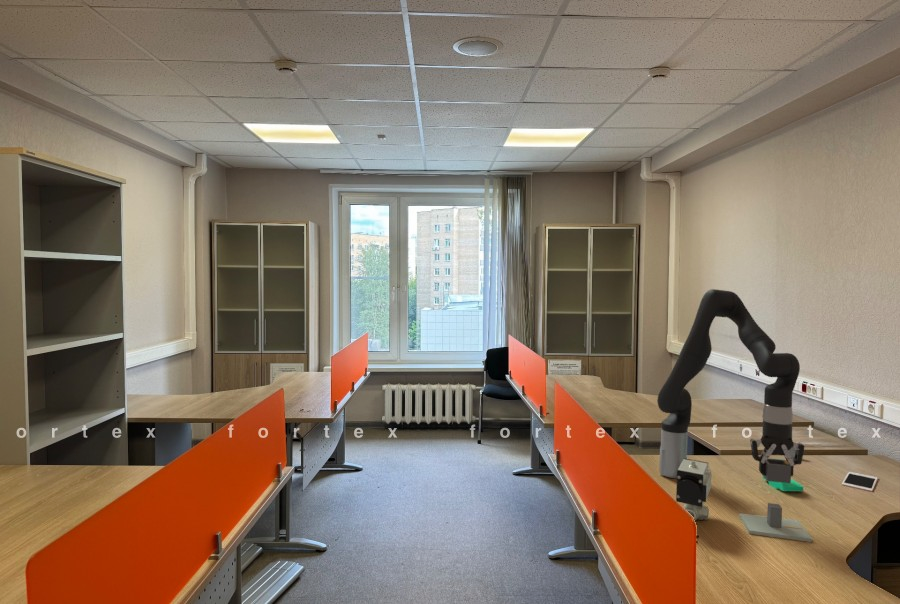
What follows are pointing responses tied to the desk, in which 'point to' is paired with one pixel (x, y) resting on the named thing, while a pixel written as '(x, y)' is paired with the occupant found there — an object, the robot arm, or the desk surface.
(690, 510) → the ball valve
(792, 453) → the lighter
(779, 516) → the grey base with post
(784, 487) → the camera mount
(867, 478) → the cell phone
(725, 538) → the desk surface
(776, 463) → the grey open box
